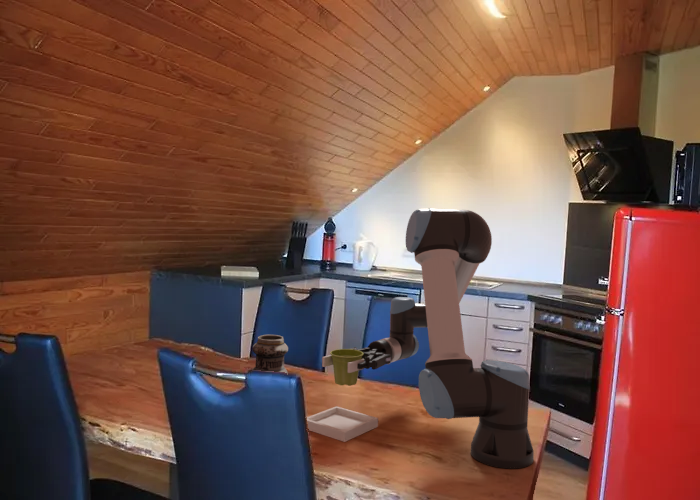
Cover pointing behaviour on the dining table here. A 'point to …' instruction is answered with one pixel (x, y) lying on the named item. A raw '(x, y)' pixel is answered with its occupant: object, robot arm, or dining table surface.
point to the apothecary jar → (270, 353)
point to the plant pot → (345, 365)
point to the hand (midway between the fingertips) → (335, 364)
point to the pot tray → (341, 423)
